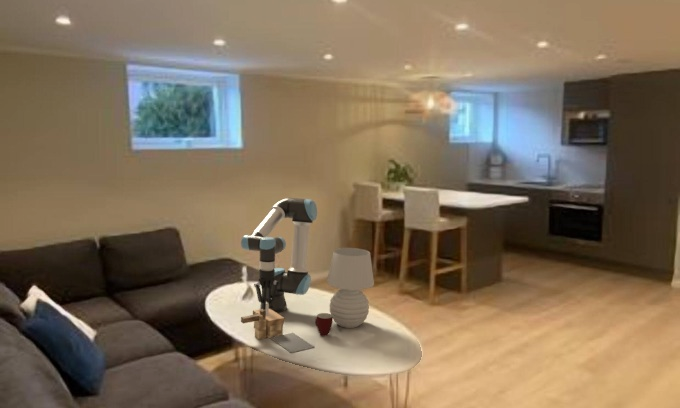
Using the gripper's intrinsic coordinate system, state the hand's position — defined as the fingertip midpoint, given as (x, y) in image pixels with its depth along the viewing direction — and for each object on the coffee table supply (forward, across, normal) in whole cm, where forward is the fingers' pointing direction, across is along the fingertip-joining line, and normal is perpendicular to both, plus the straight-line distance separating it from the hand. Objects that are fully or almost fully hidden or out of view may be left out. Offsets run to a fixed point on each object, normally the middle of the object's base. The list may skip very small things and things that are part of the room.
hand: (265, 315), depth 255 cm
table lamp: (+11, -46, +7) cm, 48 cm away
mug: (+11, -26, +12) cm, 31 cm away
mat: (+11, -7, +13) cm, 19 cm away
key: (+2, +7, 0) cm, 7 cm away
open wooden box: (+11, -2, -6) cm, 12 cm away
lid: (+5, -4, -6) cm, 9 cm away
